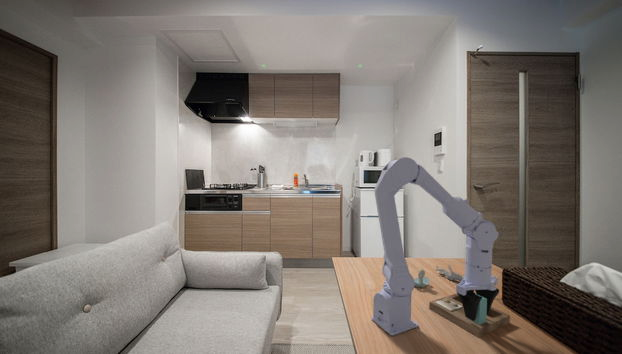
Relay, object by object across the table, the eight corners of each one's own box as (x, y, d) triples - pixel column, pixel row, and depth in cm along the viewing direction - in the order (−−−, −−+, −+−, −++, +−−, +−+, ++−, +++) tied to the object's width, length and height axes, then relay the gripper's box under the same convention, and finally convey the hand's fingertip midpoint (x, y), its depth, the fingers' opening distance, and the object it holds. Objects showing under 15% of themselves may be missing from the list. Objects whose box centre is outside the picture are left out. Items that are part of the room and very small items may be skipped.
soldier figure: (446, 275, 100) (475, 276, 90) (442, 285, 98) (473, 288, 88) (433, 262, 99) (462, 262, 89) (430, 273, 97) (459, 274, 87)
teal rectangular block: (479, 324, 62) (479, 301, 62) (467, 318, 65) (467, 295, 65) (486, 321, 64) (486, 298, 63) (474, 315, 66) (474, 293, 66)
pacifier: (404, 285, 89) (420, 291, 84) (404, 267, 89) (420, 272, 84) (416, 280, 93) (431, 285, 88) (416, 263, 93) (431, 268, 88)
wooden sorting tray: (478, 337, 60) (478, 327, 60) (429, 308, 73) (429, 300, 73) (509, 322, 67) (510, 313, 67) (459, 298, 79) (459, 291, 79)
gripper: (477, 274, 57) (475, 332, 57) (511, 265, 64) (510, 317, 64) (448, 264, 64) (447, 316, 64) (482, 256, 70) (481, 304, 70)
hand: (476, 315), depth 64 cm, fingers open, 5 cm apart
